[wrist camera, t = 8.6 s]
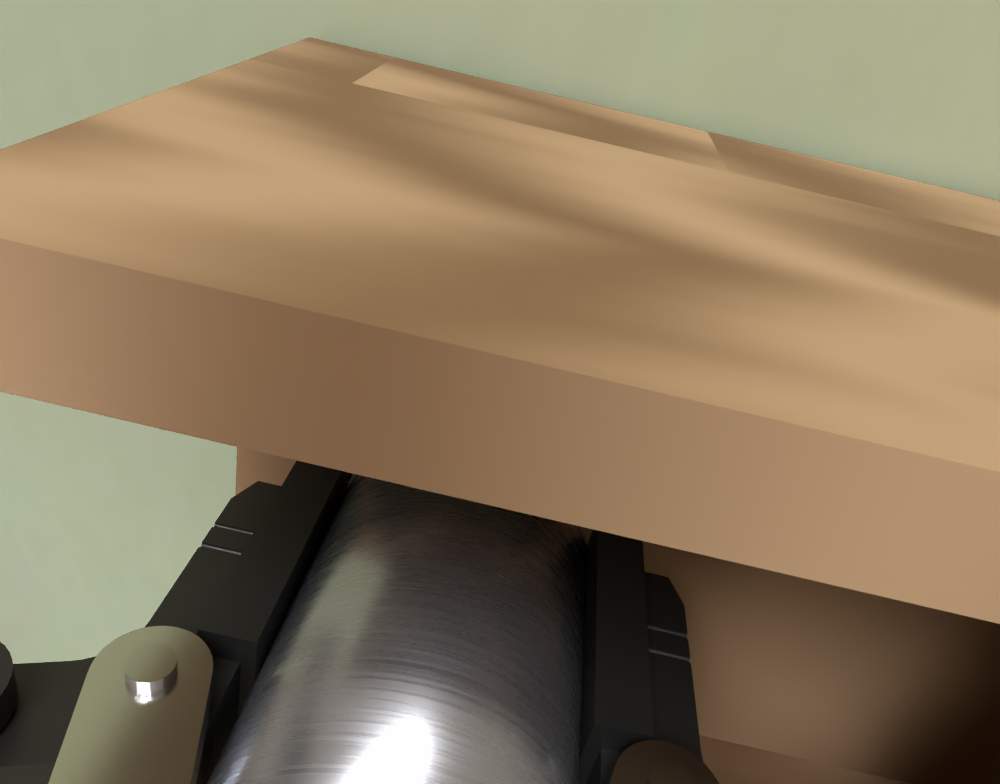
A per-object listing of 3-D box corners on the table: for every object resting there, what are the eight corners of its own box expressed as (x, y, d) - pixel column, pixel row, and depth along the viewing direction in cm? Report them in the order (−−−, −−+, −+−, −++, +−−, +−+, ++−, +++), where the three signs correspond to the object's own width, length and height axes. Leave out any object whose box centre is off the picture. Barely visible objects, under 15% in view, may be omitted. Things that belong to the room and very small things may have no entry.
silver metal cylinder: (363, 386, 12) (122, 832, 6) (616, 445, 12) (625, 947, 6) (340, 572, 14) (144, 1041, 8) (556, 621, 14) (519, 1128, 8)
